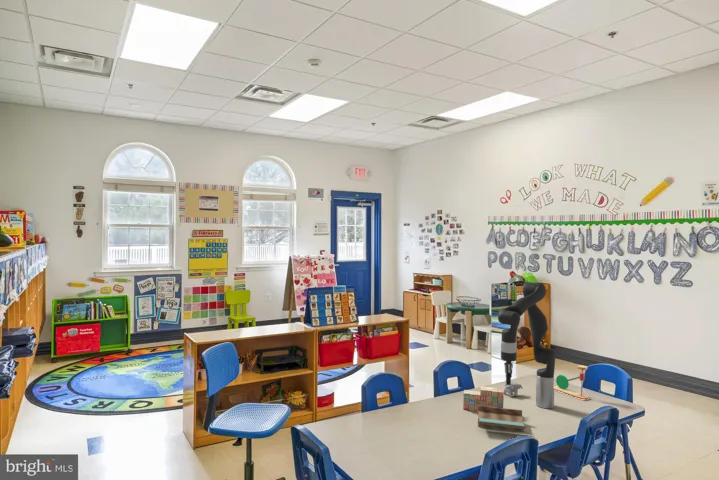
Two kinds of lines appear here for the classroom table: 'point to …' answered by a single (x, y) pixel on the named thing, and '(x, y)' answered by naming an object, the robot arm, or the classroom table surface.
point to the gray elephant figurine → (512, 389)
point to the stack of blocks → (483, 398)
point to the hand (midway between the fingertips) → (508, 384)
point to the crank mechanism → (564, 384)
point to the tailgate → (501, 423)
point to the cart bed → (500, 416)
